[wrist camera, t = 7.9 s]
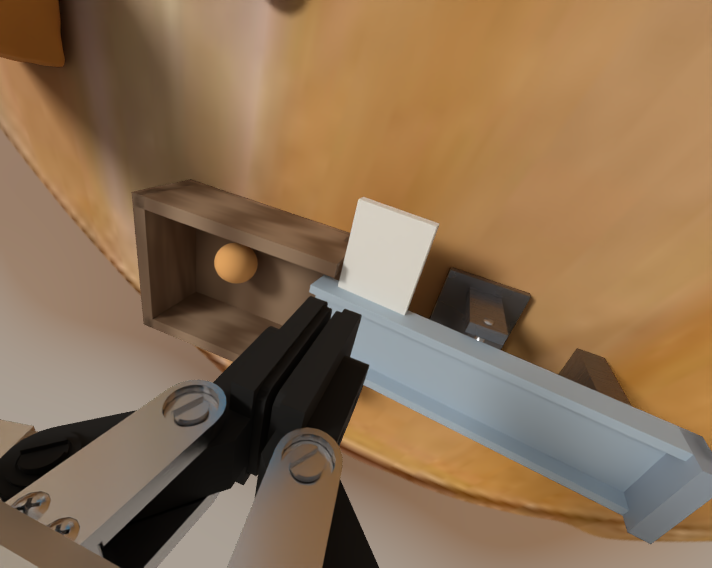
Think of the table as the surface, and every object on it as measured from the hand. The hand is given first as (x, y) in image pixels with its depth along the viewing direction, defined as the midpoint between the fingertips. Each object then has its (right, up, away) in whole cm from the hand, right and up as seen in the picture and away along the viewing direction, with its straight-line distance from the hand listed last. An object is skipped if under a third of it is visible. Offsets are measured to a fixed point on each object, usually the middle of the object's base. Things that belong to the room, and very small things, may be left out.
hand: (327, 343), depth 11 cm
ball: (-9, +4, +19) cm, 21 cm away
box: (-7, +3, +21) cm, 22 cm away
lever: (+9, -2, +11) cm, 15 cm away
